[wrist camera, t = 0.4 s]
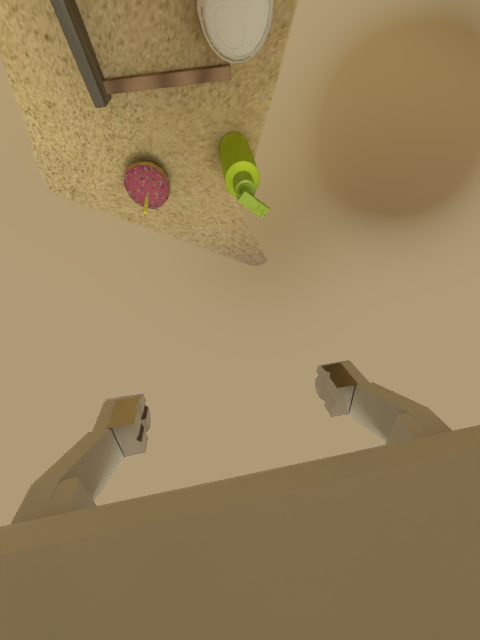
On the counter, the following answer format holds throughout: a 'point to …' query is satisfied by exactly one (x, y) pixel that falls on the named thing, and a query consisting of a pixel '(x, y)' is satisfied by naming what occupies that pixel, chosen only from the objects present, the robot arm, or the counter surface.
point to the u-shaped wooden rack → (104, 87)
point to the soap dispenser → (241, 172)
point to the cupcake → (147, 184)
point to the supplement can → (235, 26)
